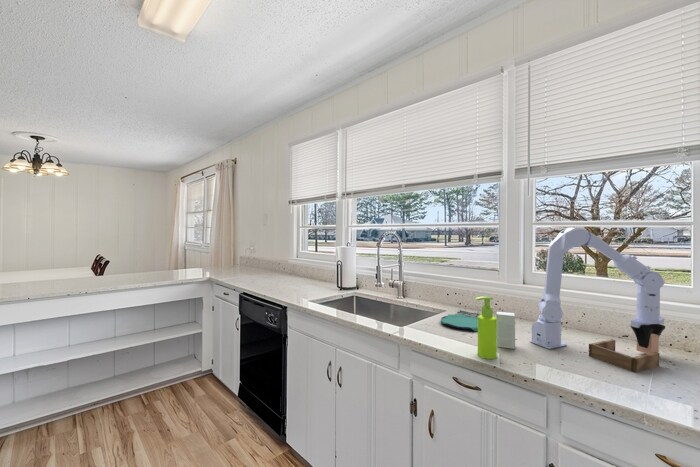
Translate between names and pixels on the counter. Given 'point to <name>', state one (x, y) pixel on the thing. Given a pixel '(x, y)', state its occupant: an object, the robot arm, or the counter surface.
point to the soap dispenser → (487, 330)
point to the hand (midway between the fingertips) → (647, 346)
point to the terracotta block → (650, 345)
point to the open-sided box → (622, 357)
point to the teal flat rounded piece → (462, 320)
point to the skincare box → (505, 330)
